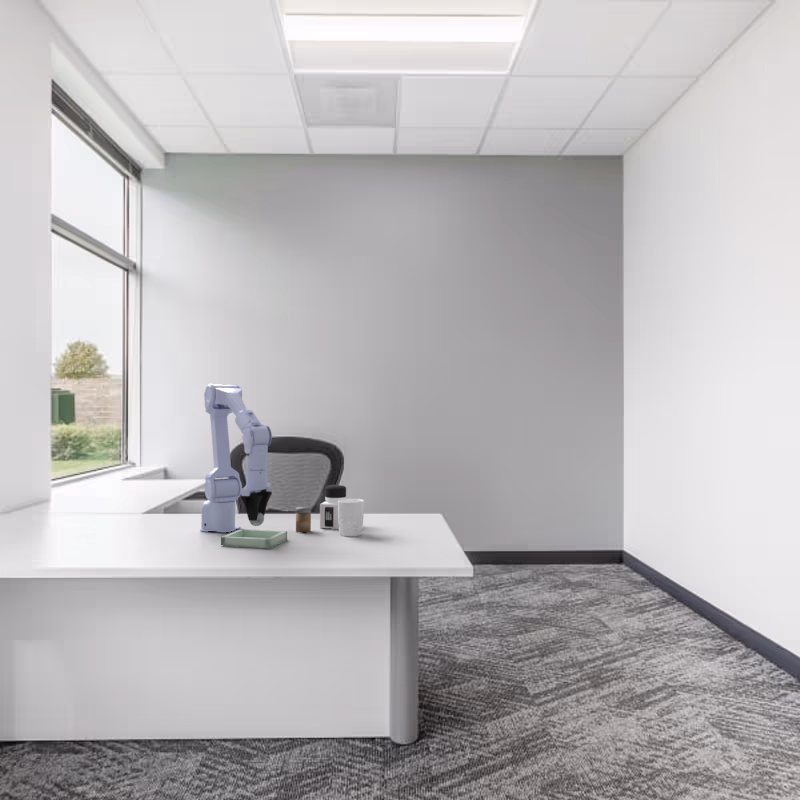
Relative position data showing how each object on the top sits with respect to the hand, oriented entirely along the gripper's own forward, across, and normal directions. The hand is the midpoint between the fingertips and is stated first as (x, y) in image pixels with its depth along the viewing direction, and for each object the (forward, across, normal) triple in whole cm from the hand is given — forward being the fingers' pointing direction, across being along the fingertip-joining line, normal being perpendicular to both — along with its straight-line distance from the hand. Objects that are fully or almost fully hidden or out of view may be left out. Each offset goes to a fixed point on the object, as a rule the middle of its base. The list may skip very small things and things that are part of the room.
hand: (256, 518), depth 176 cm
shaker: (+6, +18, -7) cm, 20 cm away
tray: (+6, -1, 0) cm, 6 cm away
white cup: (+7, +17, -22) cm, 29 cm away
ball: (+2, 0, 0) cm, 2 cm away
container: (+7, +27, -14) cm, 31 cm away
